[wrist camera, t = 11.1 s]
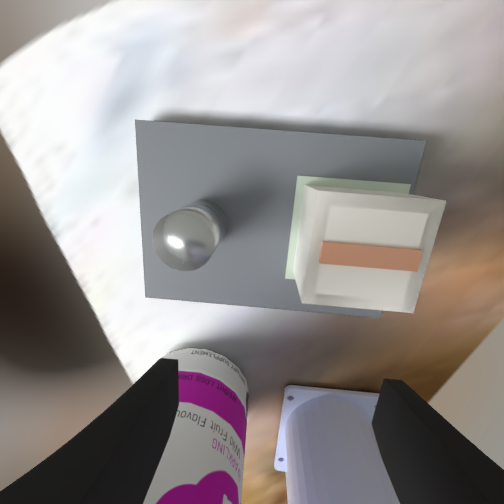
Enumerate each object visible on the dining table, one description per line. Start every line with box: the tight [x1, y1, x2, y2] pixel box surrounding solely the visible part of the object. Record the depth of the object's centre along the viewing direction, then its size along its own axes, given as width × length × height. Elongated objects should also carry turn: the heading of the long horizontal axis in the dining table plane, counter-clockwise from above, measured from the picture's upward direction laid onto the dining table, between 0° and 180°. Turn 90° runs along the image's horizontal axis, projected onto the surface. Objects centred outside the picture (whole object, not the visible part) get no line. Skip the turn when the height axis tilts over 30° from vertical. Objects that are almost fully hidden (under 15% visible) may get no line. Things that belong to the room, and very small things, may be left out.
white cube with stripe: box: [293, 185, 447, 313], centre depth 14 cm, size 5×5×4 cm
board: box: [135, 120, 426, 318], centre depth 17 cm, size 11×16×2 cm
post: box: [152, 200, 227, 271], centre depth 14 cm, size 3×3×4 cm
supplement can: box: [143, 348, 249, 504], centre depth 15 cm, size 8×8×15 cm
